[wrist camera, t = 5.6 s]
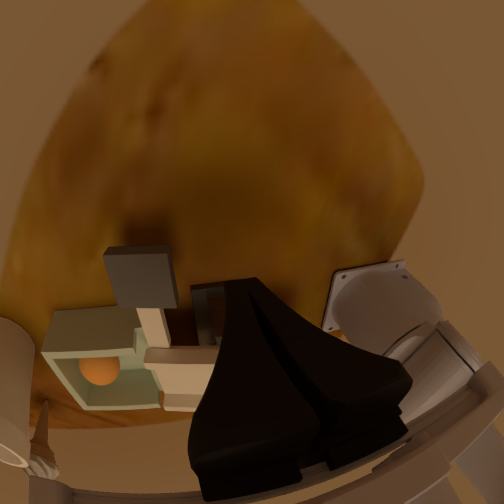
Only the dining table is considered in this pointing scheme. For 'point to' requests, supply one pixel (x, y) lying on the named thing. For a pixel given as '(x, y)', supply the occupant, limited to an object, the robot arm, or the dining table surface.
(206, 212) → the dining table surface
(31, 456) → the ice cream cone
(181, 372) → the lever board
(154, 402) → the cup
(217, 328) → the lever stand
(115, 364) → the ball
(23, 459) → the foam cup
